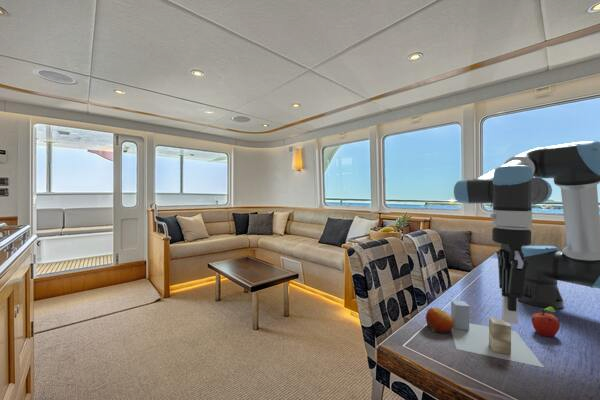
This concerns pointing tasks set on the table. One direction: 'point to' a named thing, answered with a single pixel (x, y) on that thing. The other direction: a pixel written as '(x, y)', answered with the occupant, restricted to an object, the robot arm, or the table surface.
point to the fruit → (439, 320)
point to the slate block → (460, 314)
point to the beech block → (499, 336)
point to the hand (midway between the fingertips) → (509, 321)
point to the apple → (545, 323)
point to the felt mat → (479, 343)
